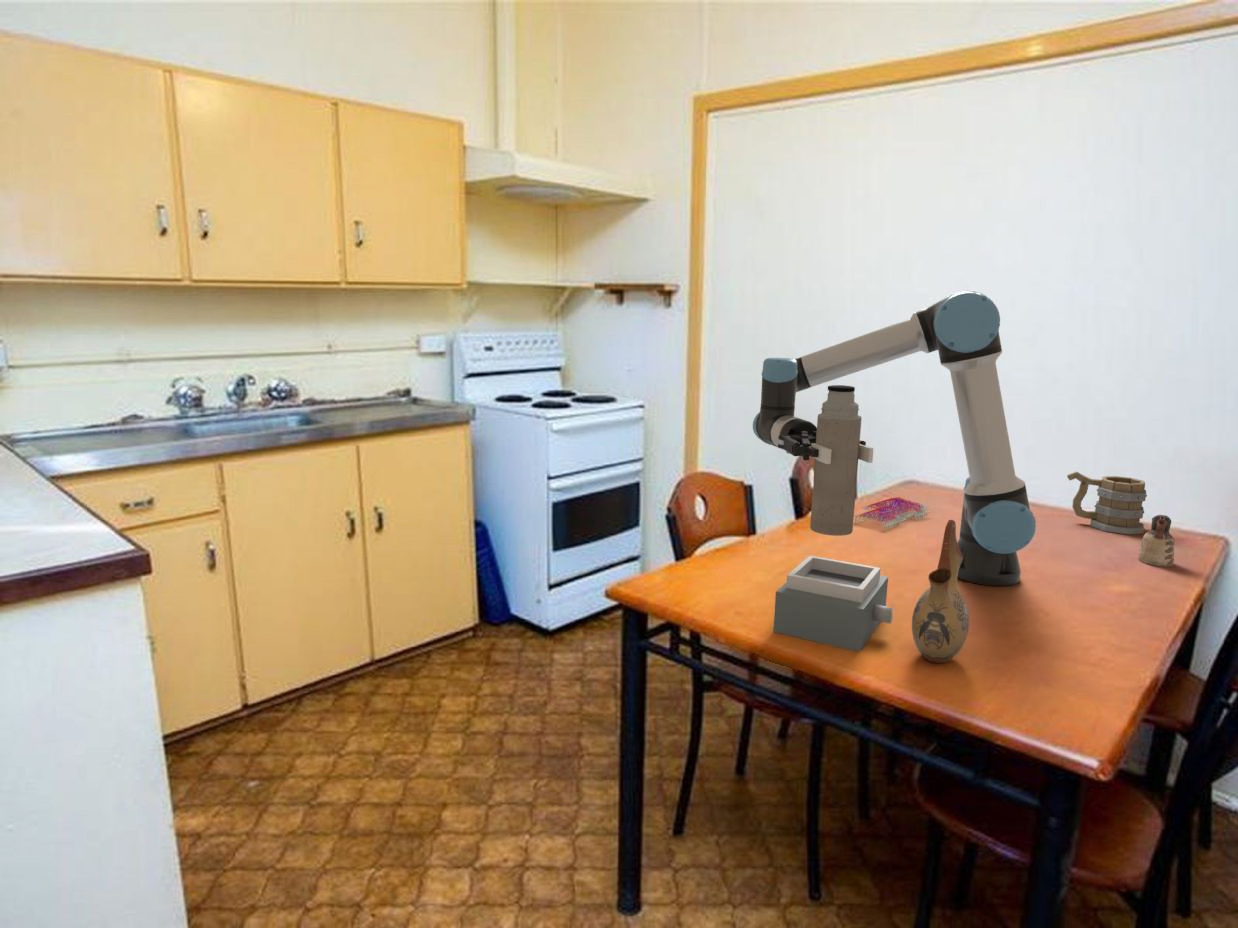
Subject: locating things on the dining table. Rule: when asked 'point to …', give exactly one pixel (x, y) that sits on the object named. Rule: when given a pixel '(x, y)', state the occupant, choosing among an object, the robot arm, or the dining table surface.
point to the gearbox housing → (832, 603)
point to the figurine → (1158, 543)
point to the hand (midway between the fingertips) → (850, 456)
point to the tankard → (1113, 503)
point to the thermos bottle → (836, 463)
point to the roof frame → (903, 511)
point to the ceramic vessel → (942, 606)
